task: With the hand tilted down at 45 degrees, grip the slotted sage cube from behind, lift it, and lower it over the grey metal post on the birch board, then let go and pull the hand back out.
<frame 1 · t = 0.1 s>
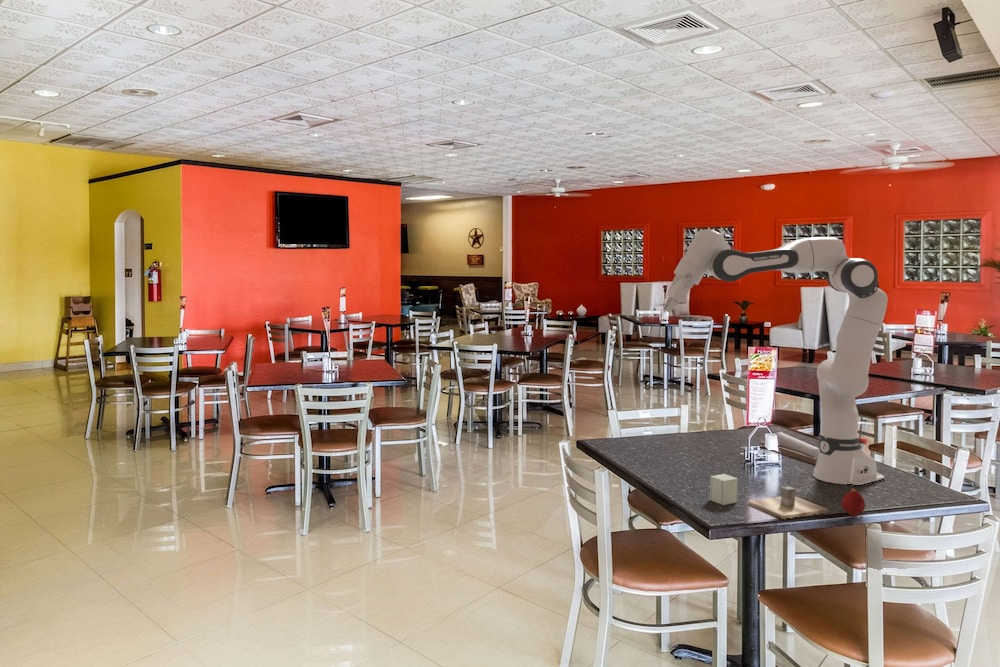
hand: (666, 311, 245), 54 cm above the table, tool tilted 30°, fingers open, 8 cm apart
tube rack: (797, 453, 275), on the table
tube: (798, 453, 275), on the table, touching tube rack
slotted sage cube: (723, 501, 219), on the table
onion: (852, 517, 206), on the table
post board: (787, 508, 213), on the table
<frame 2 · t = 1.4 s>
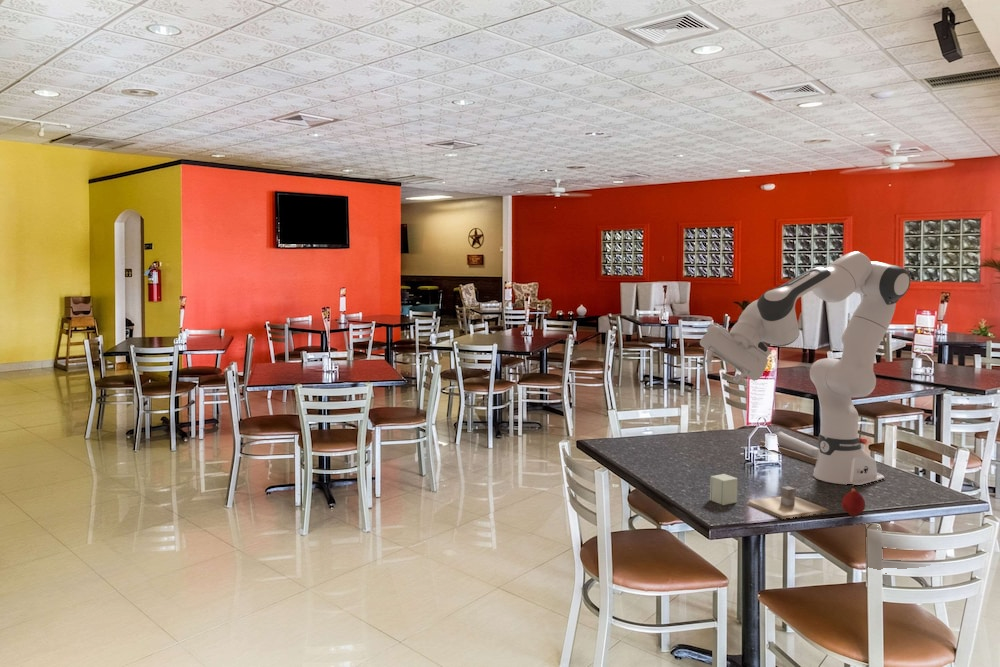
hand: (721, 371, 218), 38 cm above the table, tool tilted 55°, fingers open, 8 cm apart
nothing on the table moved.
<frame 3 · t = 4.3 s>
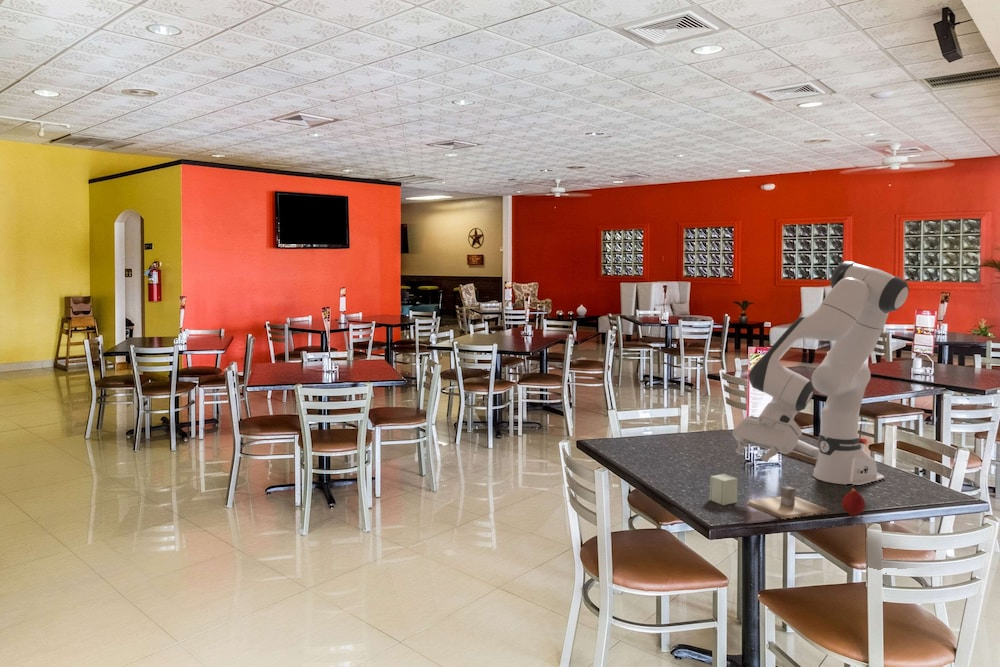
hand: (750, 456, 222), 12 cm above the table, tool tilted 45°, fingers open, 8 cm apart
nothing on the table moved.
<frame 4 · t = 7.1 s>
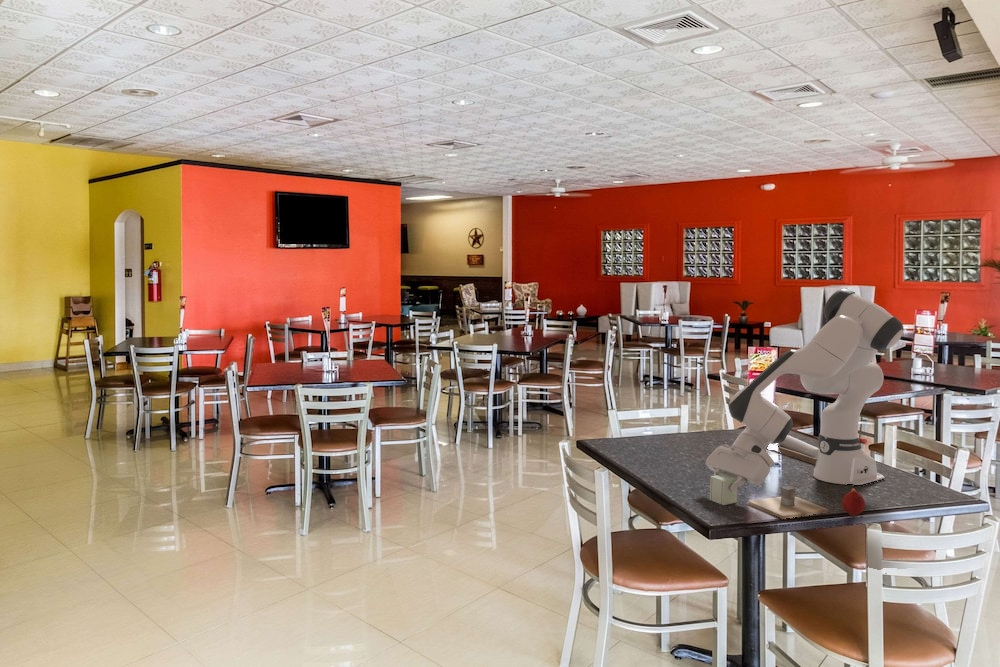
hand: (722, 486, 219), 4 cm above the table, tool tilted 45°, fingers closed on slotted sage cube, 5 cm apart
slotted sage cube: (723, 501, 219), on the table, touching gripper
everything else where it was.
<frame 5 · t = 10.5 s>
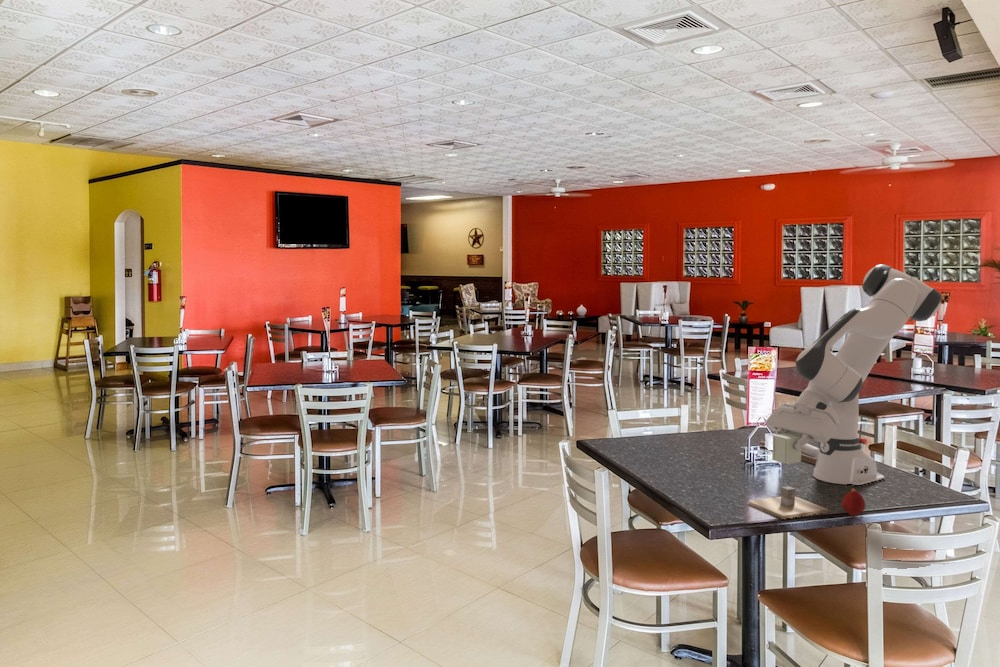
hand: (785, 445, 212), 18 cm above the table, tool tilted 45°, fingers closed on slotted sage cube, 5 cm apart
slotted sage cube: (786, 460, 212), point 14 cm above the table, touching gripper
everything else where it was.
when the fingers open (7 cm above the table, at t = 13.8 s): slotted sage cube drops 2 cm, resting on post board.
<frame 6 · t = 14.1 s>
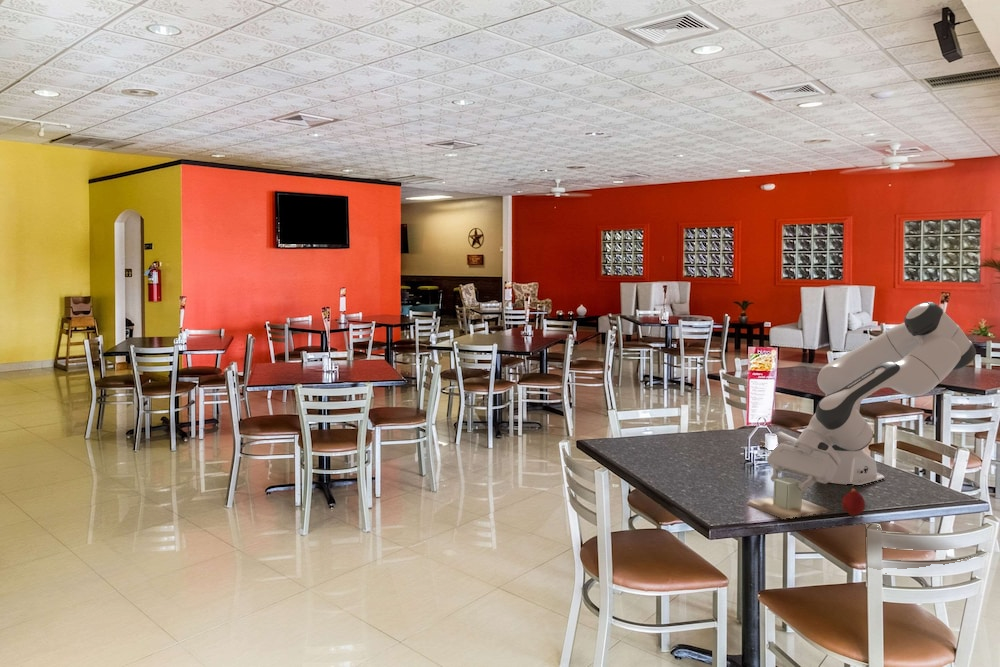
hand: (786, 485, 212), 7 cm above the table, tool tilted 45°, fingers open, 8 cm apart
slotted sage cube: (787, 505, 213), point 1 cm above the table, touching post board
everything else where it was.
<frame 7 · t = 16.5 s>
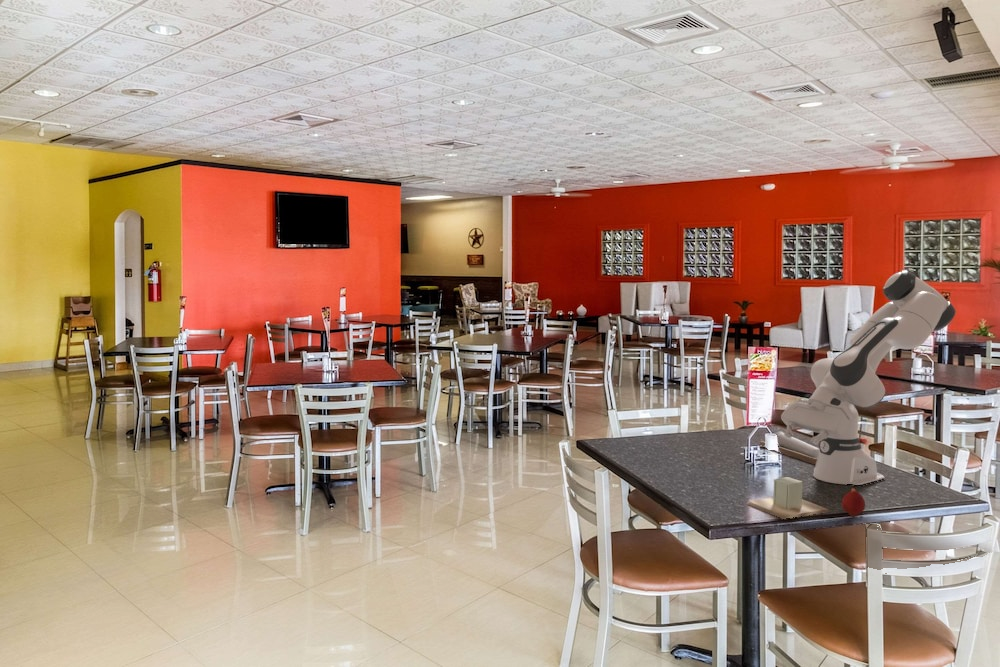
hand: (799, 439, 218), 18 cm above the table, tool tilted 45°, fingers open, 8 cm apart
nothing on the table moved.
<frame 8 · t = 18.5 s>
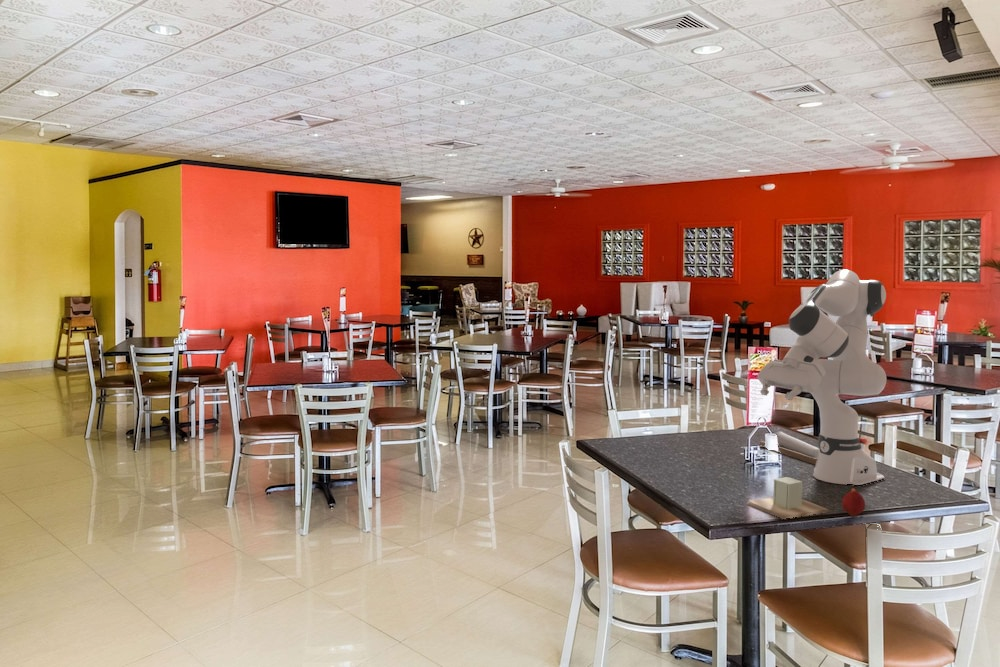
hand: (775, 396, 228), 29 cm above the table, tool tilted 45°, fingers open, 8 cm apart
nothing on the table moved.
at the end: slotted sage cube 0.1 cm from the post board (horizontally); slotted sage cube point 1.0 cm above the table; the gripper is holding nothing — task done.
